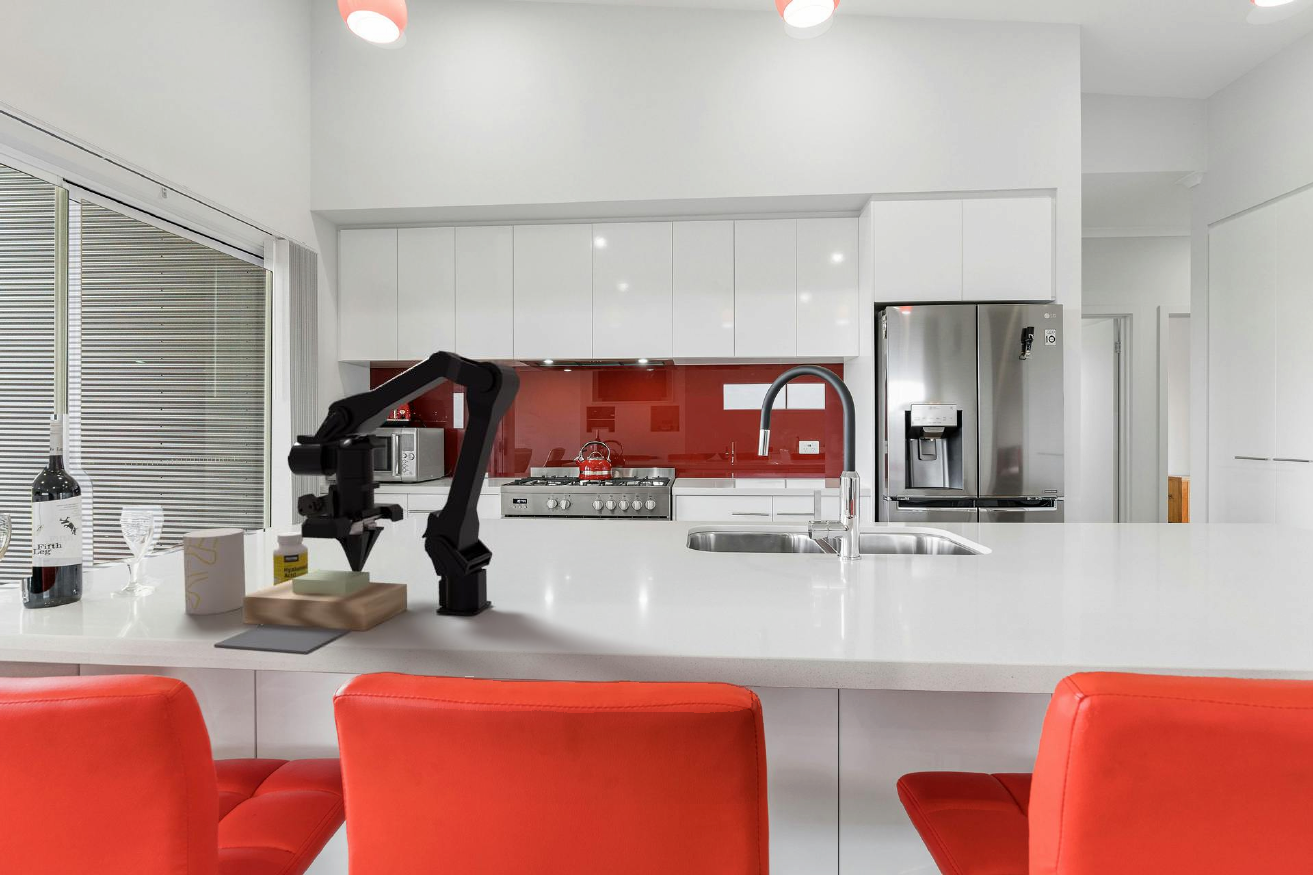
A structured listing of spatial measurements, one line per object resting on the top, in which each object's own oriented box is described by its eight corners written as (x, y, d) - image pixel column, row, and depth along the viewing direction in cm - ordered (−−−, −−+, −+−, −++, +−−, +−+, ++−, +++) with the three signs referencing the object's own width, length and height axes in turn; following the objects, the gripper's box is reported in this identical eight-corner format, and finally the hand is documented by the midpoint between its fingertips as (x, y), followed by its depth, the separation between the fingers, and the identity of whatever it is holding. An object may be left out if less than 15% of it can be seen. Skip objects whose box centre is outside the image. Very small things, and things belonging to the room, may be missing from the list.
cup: (174, 609, 110) (172, 534, 109) (226, 597, 117) (224, 526, 116) (204, 617, 106) (202, 539, 105) (256, 603, 113) (254, 530, 112)
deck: (407, 609, 110) (406, 583, 109) (364, 631, 99) (364, 603, 99) (296, 602, 114) (295, 578, 113) (243, 622, 103) (243, 596, 103)
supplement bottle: (282, 594, 118) (281, 537, 118) (268, 589, 122) (266, 534, 121) (314, 587, 123) (312, 532, 122) (299, 583, 126) (298, 529, 126)
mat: (350, 631, 99) (350, 629, 99) (306, 653, 90) (306, 651, 90) (264, 625, 102) (264, 623, 101) (214, 646, 93) (214, 644, 93)
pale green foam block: (369, 584, 109) (369, 572, 109) (345, 594, 103) (345, 581, 103) (319, 582, 111) (318, 569, 111) (292, 591, 105) (292, 578, 105)
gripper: (347, 470, 123) (349, 557, 124) (268, 482, 105) (271, 584, 106) (404, 471, 121) (405, 560, 122) (333, 483, 103) (336, 587, 103)
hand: (357, 572), depth 113 cm, fingers closed
